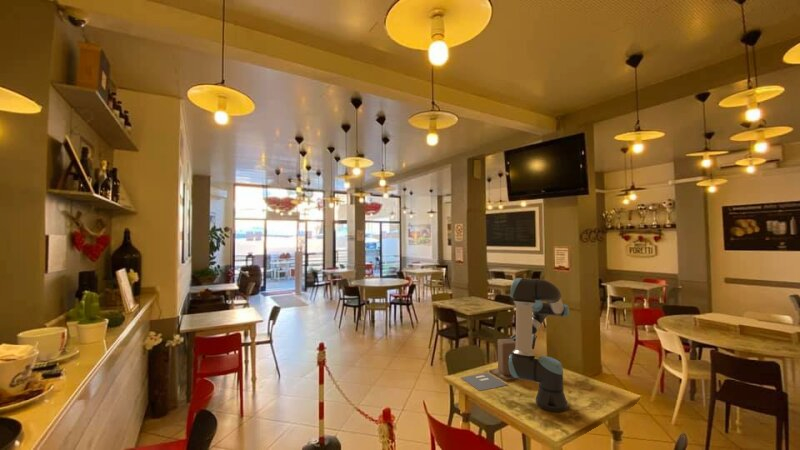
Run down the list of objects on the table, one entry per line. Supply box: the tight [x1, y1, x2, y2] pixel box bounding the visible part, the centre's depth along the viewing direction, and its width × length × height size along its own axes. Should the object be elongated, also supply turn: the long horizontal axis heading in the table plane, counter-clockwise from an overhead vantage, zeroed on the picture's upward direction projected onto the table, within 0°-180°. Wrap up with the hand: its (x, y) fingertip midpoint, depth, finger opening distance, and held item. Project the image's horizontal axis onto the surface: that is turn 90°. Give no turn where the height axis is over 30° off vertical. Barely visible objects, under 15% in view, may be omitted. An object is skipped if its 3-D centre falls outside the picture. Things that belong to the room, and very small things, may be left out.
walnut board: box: [489, 368, 520, 383], centre depth 214 cm, size 16×16×2 cm
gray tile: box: [460, 372, 508, 392], centre depth 205 cm, size 20×20×1 cm
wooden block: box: [497, 338, 516, 375], centre depth 214 cm, size 10×10×20 cm
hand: (514, 352), depth 217 cm, fingers open, 13 cm apart
